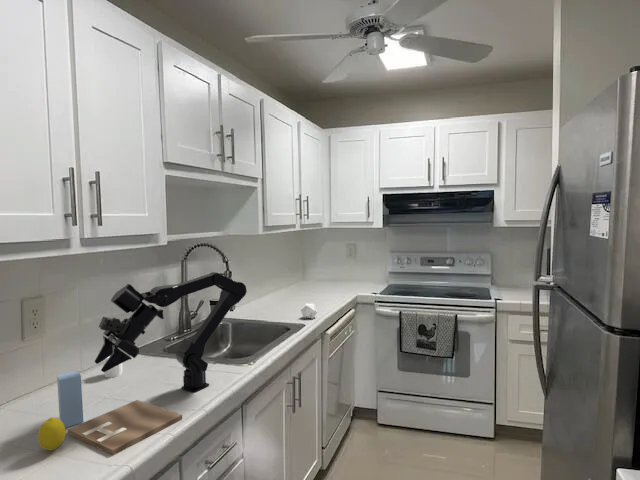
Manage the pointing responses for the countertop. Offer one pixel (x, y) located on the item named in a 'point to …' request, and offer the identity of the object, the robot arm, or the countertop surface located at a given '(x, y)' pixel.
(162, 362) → the countertop surface
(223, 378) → the countertop surface
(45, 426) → the lemon
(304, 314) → the die
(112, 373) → the shot glass
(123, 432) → the board
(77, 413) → the light blue block
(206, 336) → the robot arm
